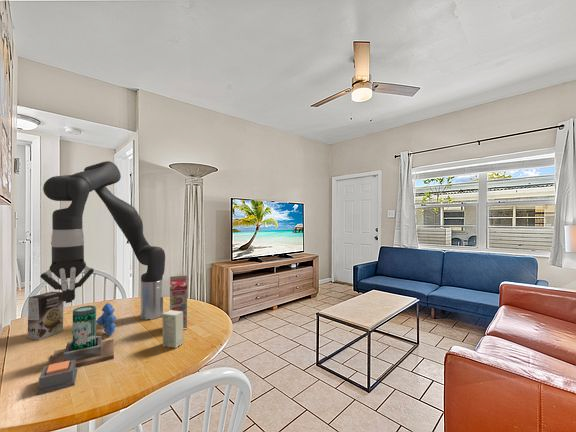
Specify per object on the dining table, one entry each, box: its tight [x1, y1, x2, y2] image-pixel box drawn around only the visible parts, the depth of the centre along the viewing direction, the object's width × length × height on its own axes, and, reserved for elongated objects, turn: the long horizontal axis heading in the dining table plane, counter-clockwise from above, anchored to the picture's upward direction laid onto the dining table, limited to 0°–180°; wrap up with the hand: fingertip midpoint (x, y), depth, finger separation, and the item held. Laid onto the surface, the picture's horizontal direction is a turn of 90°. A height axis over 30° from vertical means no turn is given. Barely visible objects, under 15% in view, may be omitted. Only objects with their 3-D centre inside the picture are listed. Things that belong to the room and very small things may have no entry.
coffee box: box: [26, 291, 64, 341], centre depth 110 cm, size 9×6×16 cm
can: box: [72, 305, 97, 351], centre depth 93 cm, size 6×6×15 cm
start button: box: [46, 360, 70, 375], centre depth 78 cm, size 5×5×3 cm
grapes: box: [96, 302, 117, 336], centre depth 110 cm, size 12×7×12 cm, turn 46°
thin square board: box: [48, 335, 115, 369], centre depth 93 cm, size 17×14×4 cm
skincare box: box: [161, 309, 185, 348], centre depth 102 cm, size 6×4×12 cm
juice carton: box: [169, 275, 188, 328], centre depth 118 cm, size 7×7×22 cm
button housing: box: [36, 359, 78, 395], centre depth 78 cm, size 8×8×4 cm
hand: (68, 302), depth 82 cm, fingers closed
